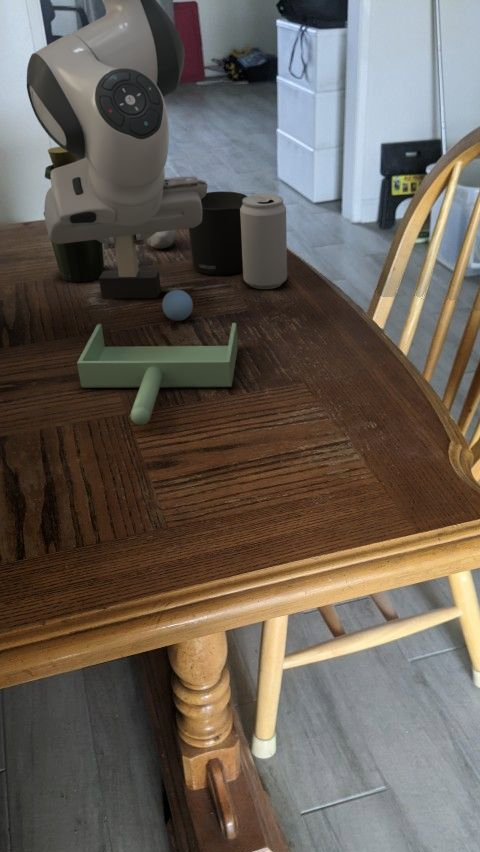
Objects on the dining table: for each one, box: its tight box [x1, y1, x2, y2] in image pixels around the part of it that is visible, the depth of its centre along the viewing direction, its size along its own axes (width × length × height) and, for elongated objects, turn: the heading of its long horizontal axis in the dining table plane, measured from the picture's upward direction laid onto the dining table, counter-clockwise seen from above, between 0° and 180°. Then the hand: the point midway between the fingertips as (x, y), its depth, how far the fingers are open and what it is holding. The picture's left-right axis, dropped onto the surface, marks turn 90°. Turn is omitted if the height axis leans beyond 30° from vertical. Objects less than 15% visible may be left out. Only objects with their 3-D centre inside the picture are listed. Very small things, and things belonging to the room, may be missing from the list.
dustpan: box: [76, 322, 239, 426], centre depth 87 cm, size 20×17×3 cm
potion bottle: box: [43, 146, 105, 283], centre depth 113 cm, size 8×8×18 cm
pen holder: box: [188, 190, 248, 277], centre depth 117 cm, size 9×9×10 cm
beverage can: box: [240, 193, 288, 290], centre depth 111 cm, size 6×6×12 cm
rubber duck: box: [147, 230, 177, 250], centre depth 127 cm, size 5×7×8 cm
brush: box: [98, 235, 162, 300], centre depth 108 cm, size 8×3×13 cm, turn 88°
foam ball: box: [161, 289, 194, 322], centre depth 103 cm, size 4×4×4 cm
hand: (124, 241), depth 108 cm, fingers closed on brush, 3 cm apart
